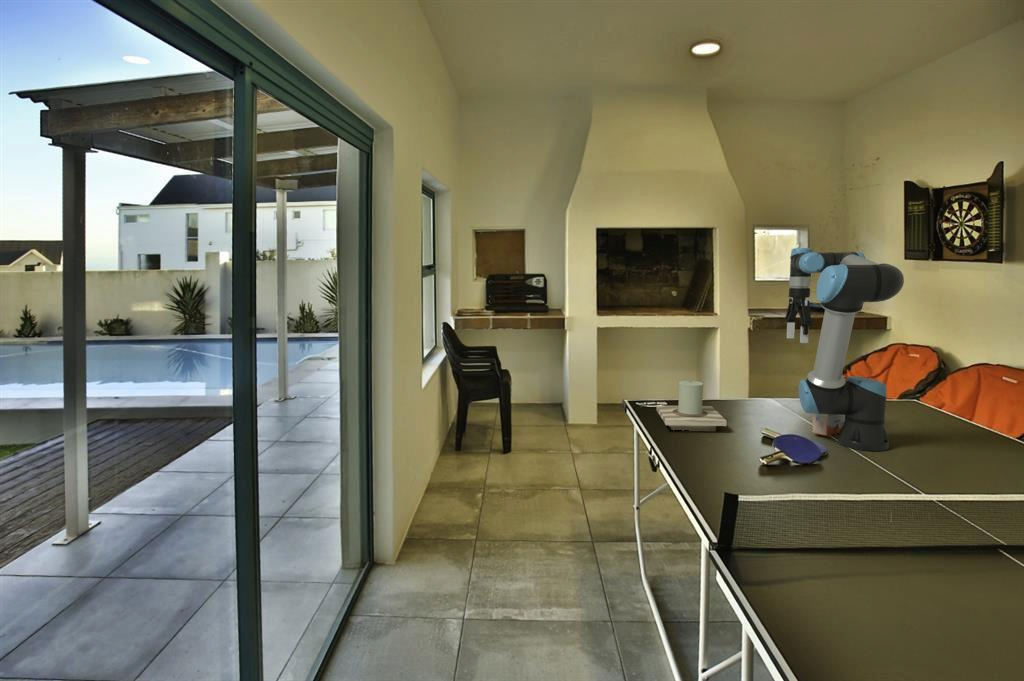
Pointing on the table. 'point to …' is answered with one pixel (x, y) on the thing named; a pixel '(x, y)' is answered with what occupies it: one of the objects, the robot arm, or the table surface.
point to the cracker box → (827, 422)
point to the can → (690, 397)
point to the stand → (691, 419)
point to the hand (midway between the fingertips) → (796, 340)
